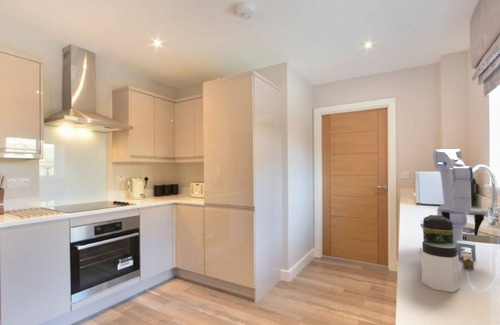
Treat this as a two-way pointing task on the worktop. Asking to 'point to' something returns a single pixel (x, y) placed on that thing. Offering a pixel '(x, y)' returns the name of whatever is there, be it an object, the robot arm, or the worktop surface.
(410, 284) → the worktop surface
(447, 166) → the robot arm
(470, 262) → the brown board
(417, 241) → the worktop surface
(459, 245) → the light blue open box
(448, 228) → the coffee jar
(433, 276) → the jar
